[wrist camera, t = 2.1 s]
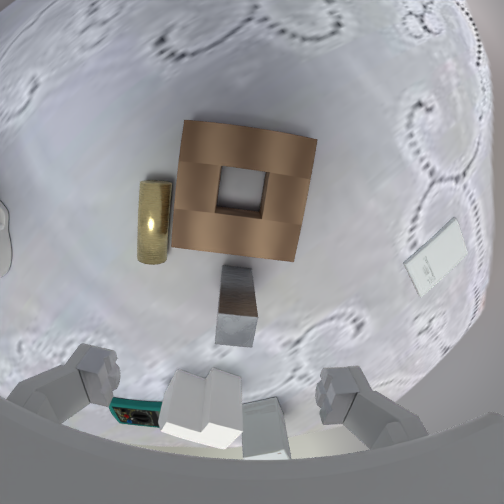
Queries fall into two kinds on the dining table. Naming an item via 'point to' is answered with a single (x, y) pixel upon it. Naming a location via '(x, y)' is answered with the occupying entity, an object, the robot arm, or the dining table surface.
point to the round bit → (153, 221)
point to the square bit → (236, 308)
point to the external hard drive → (436, 257)
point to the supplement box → (264, 431)
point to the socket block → (238, 220)
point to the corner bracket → (203, 408)
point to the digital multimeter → (136, 412)
